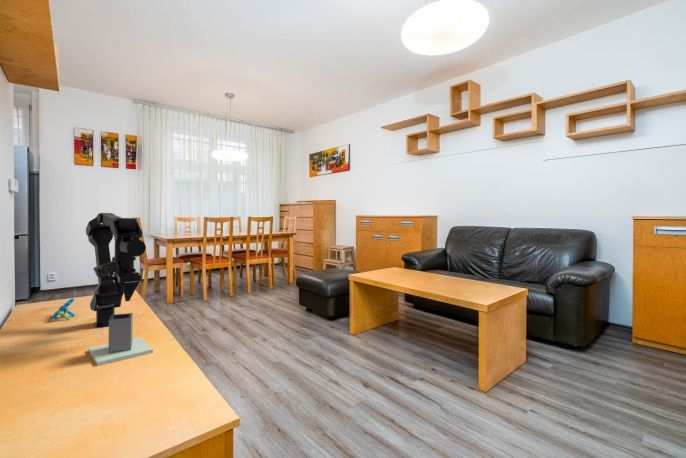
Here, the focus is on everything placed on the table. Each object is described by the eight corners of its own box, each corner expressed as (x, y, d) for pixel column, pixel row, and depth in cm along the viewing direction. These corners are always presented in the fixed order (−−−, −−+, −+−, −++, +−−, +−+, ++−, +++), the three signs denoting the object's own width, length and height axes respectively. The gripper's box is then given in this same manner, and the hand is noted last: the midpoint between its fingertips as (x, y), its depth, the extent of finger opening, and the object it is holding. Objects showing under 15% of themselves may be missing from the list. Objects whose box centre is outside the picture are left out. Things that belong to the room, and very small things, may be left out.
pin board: (88, 350, 102) (88, 334, 102) (139, 339, 112) (140, 325, 112) (97, 365, 93) (97, 348, 92) (153, 352, 103) (153, 336, 102)
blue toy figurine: (53, 311, 136) (74, 293, 138) (66, 319, 139) (87, 302, 141) (44, 322, 126) (67, 303, 129) (58, 331, 129) (81, 312, 131)
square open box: (111, 346, 104) (111, 314, 103) (132, 343, 106) (132, 313, 106) (108, 353, 99) (108, 320, 98) (130, 350, 101) (131, 317, 101)
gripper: (90, 252, 116) (90, 297, 116) (101, 258, 103) (101, 308, 103) (127, 251, 124) (127, 292, 124) (142, 256, 111) (141, 302, 111)
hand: (123, 298), depth 115 cm, fingers open, 9 cm apart
